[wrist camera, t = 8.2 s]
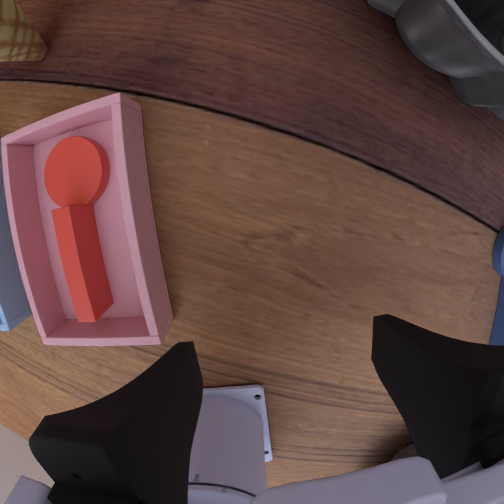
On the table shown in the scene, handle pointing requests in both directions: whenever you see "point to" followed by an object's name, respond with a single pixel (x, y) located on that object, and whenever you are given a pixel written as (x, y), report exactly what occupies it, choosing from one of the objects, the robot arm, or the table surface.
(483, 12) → the bundt pan
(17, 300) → the blue bin
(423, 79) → the table surface
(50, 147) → the rose bin
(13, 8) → the ice cream cone
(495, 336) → the blue spoon
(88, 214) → the red spoon
